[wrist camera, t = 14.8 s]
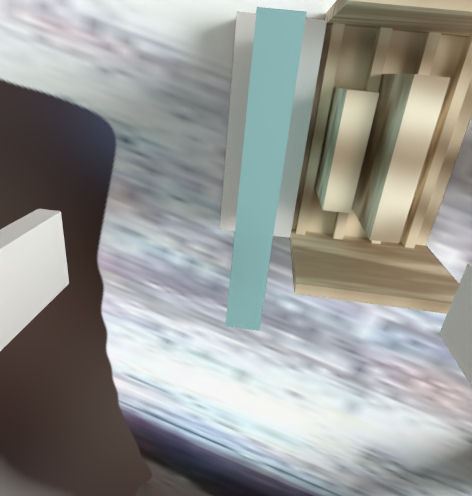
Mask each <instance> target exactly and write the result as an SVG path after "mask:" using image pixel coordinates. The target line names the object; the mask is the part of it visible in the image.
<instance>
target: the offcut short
mask: <svg viewBox="0 0 472 496" xmlns="http://www.w3.org/2000/svg"><path fill="white" fill-rule="evenodd" d="M378 97H379V93H377V92H372V91H367V90H362V89H353V88H344V87H334V92H333V97H332V103H331V108H330V113H329V118H328V124H327V129H326V134H325V139H324V145H323V150H322V155H321V160H320V166H319V171H318V176H317V181H316V187H315V189H316V192H317V195H318V198H319V201H320V204H321V207H322V210H326V211H334V212H343V213H351V210H352V205H353V201H354V197H355V193H356V189H357V185H358V180H359V176H360V172H361V168H362V164H363V160H364V155H365V151H366V147H367V143H368V139H369V135H370V131H371V126H372V122H373V118H374V114H375V110H376V106H377V101H378Z"/></svg>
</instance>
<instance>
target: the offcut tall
mask: <svg viewBox="0 0 472 496" xmlns="http://www.w3.org/2000/svg"><path fill="white" fill-rule="evenodd" d="M449 81H450V78H449V77H439V76H429V75H419V74H382V77H381V81H380V85H379V89H378V93H379V97H378V101H377V106H376V110H375V114H374V118H373V122H372V126H371V131H370V135H369V139H368V143H367V147H366V151H365V155H364V160H363V164H362V168H361V172H360V176H359V180H358V185H357V189H356V193H355V197H354V201H353V205H352V209H353V211H354V213H355V215H356V217H357V218H358V220H359V222H360V224H361V226H362V227H363V229H364V231H365V233H366V235H367V236H368V238H369V240H374V241H383V242H391V243H399V241H400V238H401V235H402V232H403V229H404V225H405V222H406V219H407V216H408V213H409V209H410V206H411V203H412V200H413V197H414V193H415V190H416V187H417V184H418V181H419V177H420V174H421V171H422V168H423V165H424V161H425V158H426V155H427V152H428V149H429V145H430V142H431V139H432V136H433V133H434V129H435V126H436V123H437V120H438V117H439V113H440V110H441V107H442V104H443V101H444V97H445V94H446V91H447V88H448V85H449Z"/></svg>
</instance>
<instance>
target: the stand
mask: <svg viewBox="0 0 472 496" xmlns="http://www.w3.org/2000/svg"><path fill="white" fill-rule="evenodd" d="M255 22H256V13H246V12H237V16H236V28H235V41H234V54H233V66H232V79H231V92H230V105H229V117H228V130H227V143H226V155H225V168H224V181H223V193H222V206H221V219H220V229H223V230H231V231H235V225H236V215H237V205H238V195H239V185H240V175H241V164H242V154H243V144H244V134H245V124H246V114H247V104H248V93H249V83H250V73H251V63H252V53H253V43H254V33H255ZM326 24H327V20H320V19H310V18H306V19H305V26H304V32H303V39H302V46H301V53H300V59H299V66H298V73H297V79H296V86H295V93H294V100H293V106H292V113H291V120H290V127H289V133H288V140H287V147H286V154H285V160H284V167H283V174H282V181H281V187H280V194H279V201H278V208H277V214H276V221H275V228H274V235H273V236H279V237H288V238H290V235H291V229H292V223H293V218H294V212H295V206H296V200H297V194H298V188H299V182H300V176H301V171H302V165H303V159H304V153H305V147H306V141H307V135H308V129H309V124H310V118H311V112H312V106H313V100H314V94H315V88H316V82H317V77H318V71H319V65H320V59H321V53H322V47H323V41H324V35H325V30H326Z"/></svg>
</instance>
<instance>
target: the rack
mask: <svg viewBox="0 0 472 496" xmlns="http://www.w3.org/2000/svg"><path fill="white" fill-rule="evenodd" d="M325 20H327V24H326V30H325V35H324V41H323V47H322V53H321V59H320V65H319V71H318V77H317V82H316V88H315V94H314V100H313V106H312V112H311V118H310V124H309V129H308V135H307V141H306V147H305V153H304V159H303V165H302V171H301V176H300V182H299V188H298V194H297V200H296V206H295V212H294V218H293V223H292V229H291V235H290V247H291V259H292V271H293V284H294V294H301V295H309V296H316V297H324V298H331V299H339V300H347V301H354V302H362V303H370V304H377V305H385V306H393V307H400V308H408V309H416V310H423V311H431V312H439V313H446V314H448V311H449V309H450V306H451V304H452V301H453V299H454V296H455V294H456V291H457V289H458V286H459V283H458V282H457V281H456V280H455V279H454V277H453V276H452V275H451V274H450V273H449V272H448V270H447V269H446V268H445V267H444V266H443V265H442V263H441V262H440V261H439V260H438V259H437V258H436V257H435V255H434V254H433V253H432V252H431V251H430V250H429V248H428V247H427V246H426V245H427V242H428V239H429V236H430V233H431V230H432V227H433V224H434V222H435V219H436V216H437V213H438V210H439V207H440V204H441V202H442V199H443V196H444V193H445V190H446V187H447V184H448V181H449V179H450V176H451V173H452V170H453V167H454V164H455V161H456V159H457V156H458V153H459V150H460V147H461V144H462V141H463V138H464V136H465V133H466V130H467V127H468V124H469V121H470V118H471V116H472V0H337V1H336V2H335V3H334V4H333V6H332V7H331V8H330V9H329V10H328V11H327V13H326V17H325ZM382 74H419V75H429V76H439V77H449V78H450V81H449V85H448V88H447V91H446V94H445V97H444V101H443V104H442V107H441V110H440V113H439V117H438V120H437V123H436V126H435V129H434V133H433V136H432V139H431V142H430V145H429V149H428V152H427V155H426V158H425V161H424V165H423V168H422V171H421V174H420V177H419V181H418V184H417V187H416V190H415V193H414V197H413V200H412V203H411V206H410V209H409V213H408V216H407V219H406V222H405V225H404V229H403V232H402V235H401V238H400V241H399V243H391V242H383V241H374V240H369V238H368V236H367V235H366V233H365V231H364V229H363V227H362V226H361V224H360V222H359V220H358V218H357V217H356V215H355V213H354V211H353V209H352V210H351V213H343V212H334V211H326V210H322V207H321V204H320V201H319V198H318V195H317V192H316V189H315V187H316V181H317V176H318V171H319V166H320V160H321V155H322V150H323V145H324V139H325V134H326V129H327V124H328V118H329V113H330V108H331V103H332V97H333V92H334V87H344V88H353V89H362V90H367V91H372V92H377V93H378V89H379V85H380V81H381V77H382Z"/></svg>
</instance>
